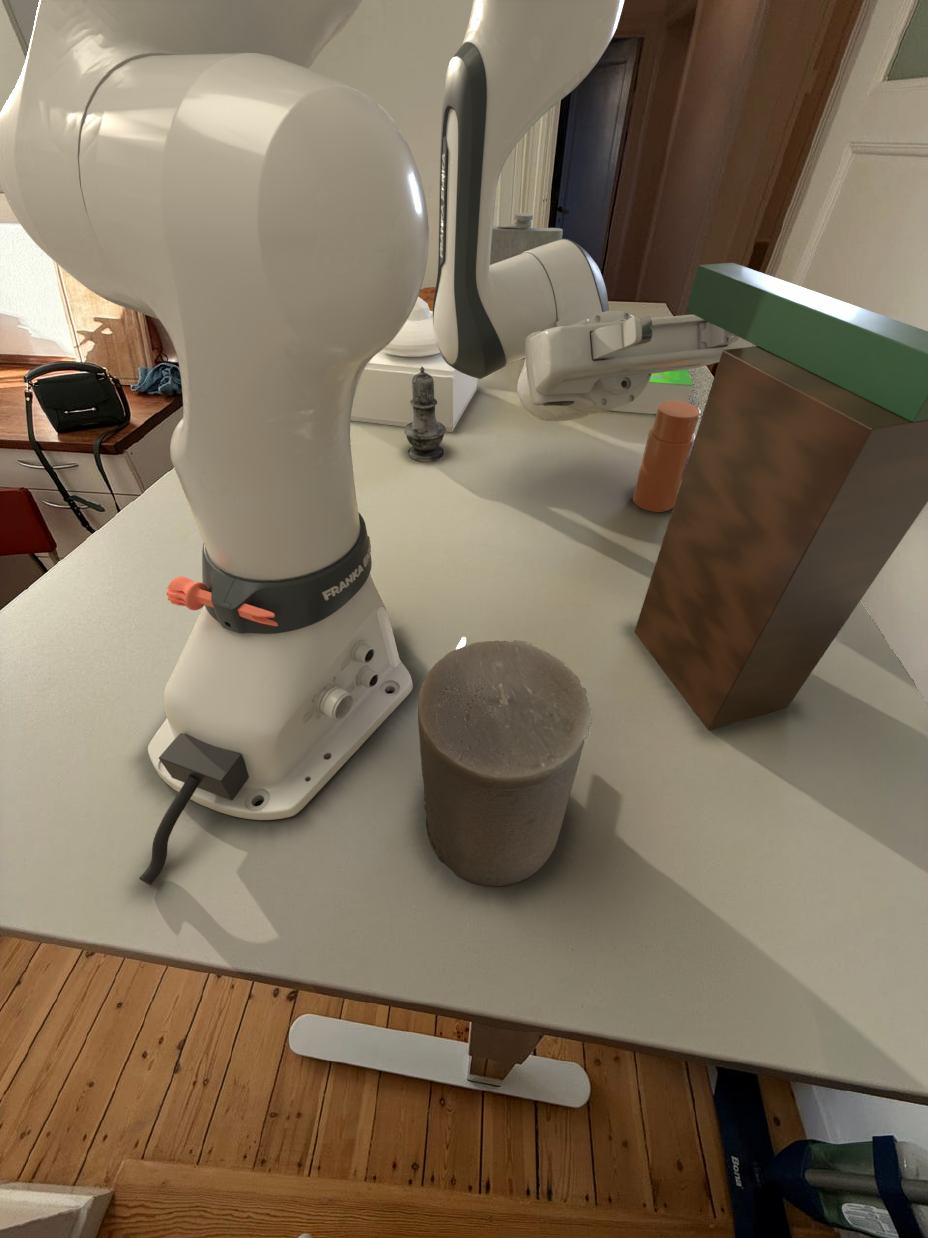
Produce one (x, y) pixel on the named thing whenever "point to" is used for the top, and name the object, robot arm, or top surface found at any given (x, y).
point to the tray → (660, 392)
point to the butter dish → (395, 366)
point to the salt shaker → (424, 421)
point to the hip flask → (519, 238)
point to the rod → (819, 335)
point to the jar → (666, 456)
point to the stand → (776, 533)
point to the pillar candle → (499, 757)
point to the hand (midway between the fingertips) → (697, 322)
